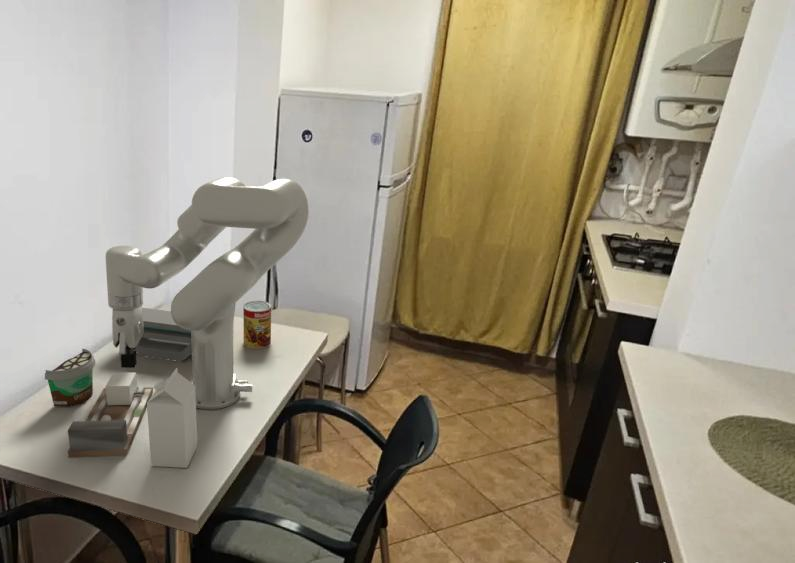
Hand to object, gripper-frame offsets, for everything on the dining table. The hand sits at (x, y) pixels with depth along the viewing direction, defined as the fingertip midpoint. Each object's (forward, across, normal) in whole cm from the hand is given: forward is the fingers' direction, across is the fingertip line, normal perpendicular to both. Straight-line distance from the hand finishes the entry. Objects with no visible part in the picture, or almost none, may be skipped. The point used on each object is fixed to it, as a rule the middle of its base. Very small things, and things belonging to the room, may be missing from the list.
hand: (129, 366), depth 138 cm
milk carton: (+4, -30, -16) cm, 34 cm away
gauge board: (+5, -17, -1) cm, 17 cm away
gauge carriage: (+3, -9, -2) cm, 10 cm away
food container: (+5, -7, +9) cm, 13 cm away
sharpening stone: (+5, +16, -6) cm, 18 cm away
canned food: (+4, +22, -30) cm, 37 cm away
